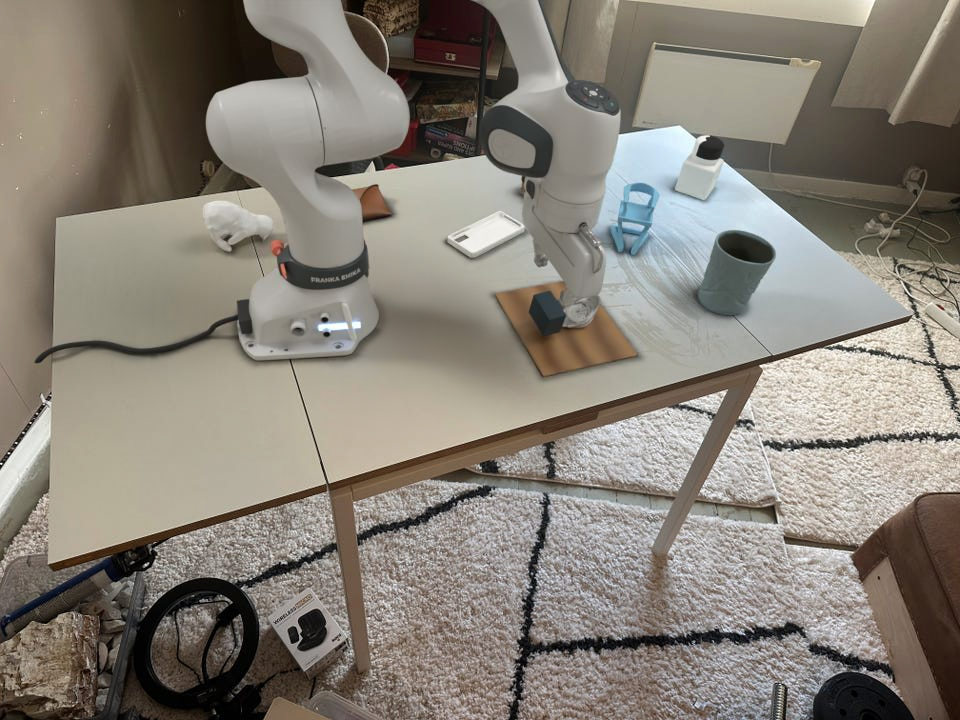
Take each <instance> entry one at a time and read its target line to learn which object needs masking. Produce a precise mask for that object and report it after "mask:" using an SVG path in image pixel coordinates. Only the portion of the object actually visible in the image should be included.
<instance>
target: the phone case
mask: <svg viewBox="0 0 960 720" xmlns="http://www.w3.org/2000/svg"><path fill="white" fill-rule="evenodd" d="M510 219H511V220H510ZM516 223H517V224H516ZM518 224H519V225H518ZM525 229H526V228H525V226H524V224H523V222H521V221H519V220H517V219H516V218H514V217H512V216H511V215H509V214H507V213H506V212H504V211H502V210H499V211H496V212H494V213H492V214H490V215H488V216H486V217H484V218H482V219H480V220H477V221H475V222H473V223H471V224H469V225H467V226H465V227H463V228H461V229H459V230H457V231H454V232H452V233H449V235H448V236H447V243H448V244H449V245H451V246H452V247H453V248H455V249H456V250H458V251H460V252H461V253H463V254H464V255H466V256H467V257H469V258H470V259H475V258H477V257H479V256H481V255H483V254H485V253H487V252H489V251H491V250H493V249H494V248H496V247H498V246H500V245H502V244H505V243H506V242H508V241H510V240H512V239H514V238H516V237H518V236H520V235H521V234H523V233H524V232H525ZM463 236H465V237H467V238H466V239H464V240H462V241H460V242H458V241H457V239H459V238H461V237H463Z"/></svg>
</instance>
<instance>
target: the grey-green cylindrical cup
mask: <svg viewBox="0 0 960 720" xmlns="http://www.w3.org/2000/svg"><path fill="white" fill-rule="evenodd" d="M776 258H777V251H776V249H775V248H774V246H773V244H772V243H770V242H769V241H768V240H767V239H766V238H764V237H762V236H760V235H757V234H755V233H752V232H749V231H745V230H740V229H728V230H724V231H721V232H720V233H718V234H717V235H716V237H715V239H714V242H713V246H712V249H711V252H710V255H709V259H708V260H709V261H708V263H707V265H706V268H705V270H704V271H705V272H704V275H703V279H702V281H701V283H700V287H699V290H698V293H697V298H698V301H699V302H700V304H701V305H702V306H703V307H704V308H706V310H708V311H710V312H712V313H715V314H718V315H722V316H736V315H739V314H740V313H742V312H743V311H744V310H745V309H746V307H747V305H748V304H749V302H750V300H751V298H752V295H753V294H754V293H755V292H756V290H757V288H758V287H759V285H760V284H761V281H762V280H763V279H764V277H765V276H766V274H767V273H768V270H769V269H770V268H771V266H772V265H773V263H774V261H775V260H776Z"/></svg>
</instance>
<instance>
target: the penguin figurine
mask: <svg viewBox="0 0 960 720" xmlns="http://www.w3.org/2000/svg"><path fill="white" fill-rule="evenodd" d="M202 218H203V221H204V223H205V224H204V225H205V226H206V229H207V231H208V236H209V238H211V239H212V240H213V242H214V243H215V244H216V246H218V247H219V248H220V249H221V250H224V251H225V252H228V253H230V252H232V246H231V245H236V244H237V243H239V242H241V241H242V240H244V239H245V238H249V237H251V236H255V235H258V236H259V237H260V238H262V242H264V241H265V240H266V239H267V238H269V236H270V235H271V233H272V232H273V231H274V229H275V223H274V221H273V218H271V217H270V216H268V215H265V214H255V213H254V212H250V211H249V210H248V209H247V208H244V207H242V206H241V205H239V204H236V203H233V202H231V201H229V200H213V201H210V202H207V203H205V204H204V205H203V208H202ZM228 235H230V236H231V237H230V238H229V239H228V240H224V239H226V238H227V237H228Z"/></svg>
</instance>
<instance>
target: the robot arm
mask: <svg viewBox="0 0 960 720" xmlns="http://www.w3.org/2000/svg"><path fill="white" fill-rule="evenodd" d="M471 1H472V2H475V3H477V4H479V5H481V6H482V7H484V8H486V10H488V11H489V12H490V14H492V16H493V17H494V18H495V20H496V22H497V23H498V26H499V27H500V30H501V33H502V35H503V38H504V40H505V43H506V46H507V48H508V50H509V53H510V56H511V58H512V61H513V64H514V67H515V69H516V71H517V72H516V73H517V77H518V82H517V88H516V89H515V90H513V91H511V92H510V93H508V94H507V95H505V96H503V97H502V98H501V99H500V100H498V101H497V102H496V103H495V104H493V105H492V106H491V107H490V108H489V109H487V110H486V111H485V113H484V114H483V116H482V117H481V120H480V123H479V128H478V129H479V130H478V131H479V132H478V134H479V136H478V137H479V142H480V146H481V149H482V152H483V153H484V155H485V157H486V158H487V160H488V161H489V162H490V163H491V164H492V165H493V166H494V167H496V169H498V170H501V171H503V172H504V173H508V174H512V175H516V176H521V177H522V176H525V181H524V188H525V190H526V191H525V193H524V195H523V200H522V206H521V207H522V208H521V220H522V224H524V226H525V229H526V230H527V232H528V233H529V235H530V236H531V237H532V246H533V252H534V254H533V255H534V256H533V262H534V264H535V265H536V266H537V268H542V267H543V268H545V267H546V266H547V265H548V263H550V264H551V266H552V267H553V269H554V270H555V271H556V272H557V274H558V276H559V277H560V279H562V281H564V282H565V284H566V288H567V290H563V291H561V293H560V297H559V298H560V300H561V302H562V303H563V305H570V304H573V303H574V300H575V297H576V298H577V299H582V298H589V297H593V296H596V295H600V294H601V292H602V289H603V284H604V280H605V275H606V274H605V273H606V264H607V254H606V251H605V249H604V247H603V246H602V242H601V239H599V238H598V236H596V235H595V234H594V232H593V230H592V229H594V228H595V227H596V226H597V224H598V222H599V218H600V215H601V210H602V206H603V203H604V199H605V195H606V192H607V191H606V189H607V183H606V179H607V175H608V173H609V172H610V170H611V169H612V166H613V163H614V161H615V155H616V152H617V146H618V142H619V136H620V131H621V121H622V120H621V117H622V114H621V113H622V111H621V106H620V103H619V101H618V99H617V96H615V94H614V93H612V91H610V90H609V89H608V88H607V87H605V86H603V85H601V84H599V83H597V82H594V81H590V80H585V79H576V78H575V77H574V75H573V74H572V72H571V71H570V70H569V68H568V66H567V64H566V63H565V61H564V59H563V57H562V55H561V52H560V49H559V47H558V44H557V41H556V37H555V35H554V32H553V29H552V27H551V24H550V21H549V18H548V15H547V12H546V8H545V7H544V6H545V5H544V3H543V1H542V0H471ZM242 2H243V7H244V12H245V14H246V17H247V19H248V21H249V23H250V25H251V26H252V27H253V28H254V30H255V31H256V32H258V33H259V34H260V35H261V36H263V37H264V38H266V39H267V40H270V41H272V42H274V43H277V44H279V45H280V46H283V47H286V48H288V49H290V50H293V51H295V52H297V53H299V54H300V55H301V56H302V57H303V59H304V61H305V63H306V66H307V71H308V73H307V74H305V75H303V76H296V77H295V76H294V77H284V78H271V79H263V80H252V81H247V82H245V83H244V82H243V83H241V84H237V85H235V86H232V87H229V88H226V89H223V90H220V91H217V92H216V93H214V95H213V97H212V98H211V100H210V102H209V104H208V106H207V111H206V115H205V130H206V134H207V139H208V142H209V144H210V146H211V148H212V150H213V151H214V153H215V155H216V156H217V157H218V159H220V161H221V162H222V163H223V164H224V165H225V166H226V167H228V168H229V169H231V170H232V171H234V172H235V173H238V174H239V175H243V176H245V177H247V178H249V179H250V180H252V181H253V182H255V183H257V184H258V185H259V186H261V187H262V188H263V189H264V190H265V191H267V193H268V194H269V196H271V198H272V199H273V200H274V202H275V203H276V205H277V207H278V209H279V212H280V214H281V215H280V216H281V218H282V222H283V225H284V229H285V233H286V238H287V245H286V246H285V244H284V241H282V240H280V239H275V240H274V239H273V241H271V243H270V250H271V253H272V255H273V256H274V257H276V264H277V266H276V267H275V268H273V269H272V270H271V271H269V272H268V273H267V274H266V275H264V276H263V277H261V278H260V279H258V280H257V281H255V283H254V284H253V286H252V287H251V289H250V294H249V298H246V299H237V300H236V309H237V314H235V315H231V316H228V317H225V318H222V319H219V320H217V321H215V322H214V323H212V324H211V325H210V327H209V328H208V329H206V330H204V331H203V332H201V333H199V334H197V335H195V336H192V337H189V338H188V339H185V340H182V341H179V342H176V343H172V344H168V345H162V346H156V347H144V348H143V347H141V348H139V347H131V346H126V345H123V344H119V343H117V342H112V341H107V340H84V341H83V340H82V341H73V342H67V343H62V344H57V345H54V346H52V347H50V348H48V349H45V350H44V351H43V352H41V353H40V354H39V355H38V356H37V357H36V358H35V360H34V364H40V363H42V362H43V361H44V360H45V359H46V358H47V357H49V356H50V355H52V354H54V353H57V352H60V351H63V350H68V349H74V348H84V347H104V348H109V349H115V350H117V351H121V352H124V353H128V354H135V355H137V354H138V355H147V354H156V353H164V352H168V351H172V350H173V351H174V350H177V349H180V348H183V347H185V346H186V347H187V346H188V345H191V344H193V343H196V342H199V341H200V340H203V339H205V338H207V337H209V336H210V335H212V334H213V333H214V332H215V331H216V330H217V328H219V327H221V326H224V325H226V324H229V323H233V322H236V321H237V333H238V334H237V335H238V339H239V342H240V346H241V347H242V349H243V350H244V352H245V353H246V354H247V355H248V356H249V358H251V359H253V360H254V361H276V360H291V359H308V358H325V357H326V358H327V357H341V356H342V357H343V356H349V355H351V354H352V353H353V354H354V352H355V351H356V349H357V347H358V345H359V343H360V342H361V341H362V340H363V339H365V338H366V337H368V336H369V335H370V334H371V333H372V332H373V331H374V330H375V328H376V327H377V325H378V322H379V317H380V312H379V308H378V306H377V304H376V302H375V300H374V297H373V294H372V290H371V286H370V282H369V276H370V273H369V272H370V257H369V256H370V255H369V248H368V245H367V243H366V240H365V237H364V222H363V221H362V208H361V203H360V200H359V198H358V196H357V195H356V193H355V192H354V191H353V190H352V188H351V187H350V186H348V185H347V184H346V183H344V182H342V181H340V180H338V179H336V178H333V177H329V176H326V175H323V174H321V173H318V172H317V171H316V169H318V168H321V167H323V166H329V165H330V166H331V165H337V164H343V163H350V162H351V163H352V162H356V161H364V160H370V159H373V158H376V157H380V156H382V155H384V154H388V153H389V152H392V151H394V150H397V149H399V148H401V146H402V144H403V143H404V141H405V140H406V137H407V135H408V131H409V128H410V120H411V114H410V106H409V103H408V100H407V97H406V95H405V93H404V91H403V89H402V88H401V86H400V85H399V84H398V82H397V81H396V80H395V79H393V77H391V76H390V75H389V74H387V73H386V72H384V71H383V70H382V69H380V68H379V67H377V65H375V64H374V63H373V62H372V61H371V60H370V58H369V57H368V56H367V55H366V54H365V53H364V51H363V50H362V49H361V47H360V46H359V44H358V43H357V41H356V39H355V37H354V36H353V33H352V31H351V29H350V27H349V24H348V21H347V18H346V15H345V12H344V8H343V4H342V0H242ZM548 261H549V262H548Z"/></svg>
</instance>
